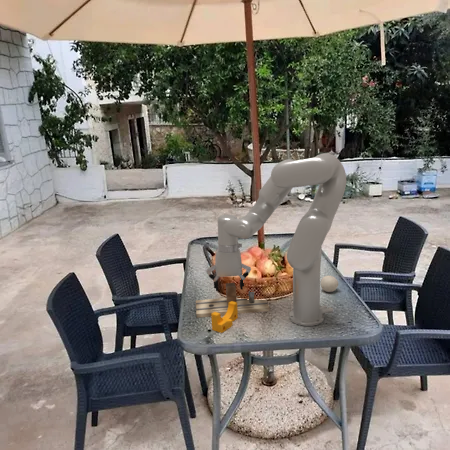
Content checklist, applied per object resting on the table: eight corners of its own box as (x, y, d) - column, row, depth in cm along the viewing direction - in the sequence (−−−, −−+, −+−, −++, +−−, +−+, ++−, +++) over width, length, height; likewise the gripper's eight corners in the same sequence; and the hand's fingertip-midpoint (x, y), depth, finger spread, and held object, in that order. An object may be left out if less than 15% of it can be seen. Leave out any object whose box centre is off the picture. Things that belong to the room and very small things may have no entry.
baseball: (341, 292, 170) (341, 277, 168) (325, 295, 168) (325, 280, 166) (333, 286, 176) (333, 272, 174) (317, 289, 174) (317, 274, 173)
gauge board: (264, 297, 169) (263, 293, 168) (269, 311, 157) (269, 306, 157) (195, 303, 167) (195, 299, 166) (196, 317, 155) (196, 313, 154)
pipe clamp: (221, 333, 143) (220, 316, 141) (212, 330, 146) (211, 313, 144) (241, 319, 152) (241, 303, 151) (232, 316, 155) (231, 300, 153)
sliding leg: (235, 300, 163) (234, 282, 161) (236, 304, 160) (235, 286, 158) (226, 300, 163) (225, 283, 161) (227, 305, 159) (226, 287, 157)
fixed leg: (254, 300, 163) (253, 290, 162) (254, 303, 161) (254, 292, 160) (248, 301, 163) (248, 290, 162) (249, 303, 161) (249, 292, 160)
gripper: (249, 243, 160) (249, 283, 165) (204, 245, 158) (206, 286, 163) (252, 249, 153) (252, 291, 157) (205, 251, 151) (207, 294, 156)
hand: (229, 288), depth 160 cm, fingers open, 9 cm apart
